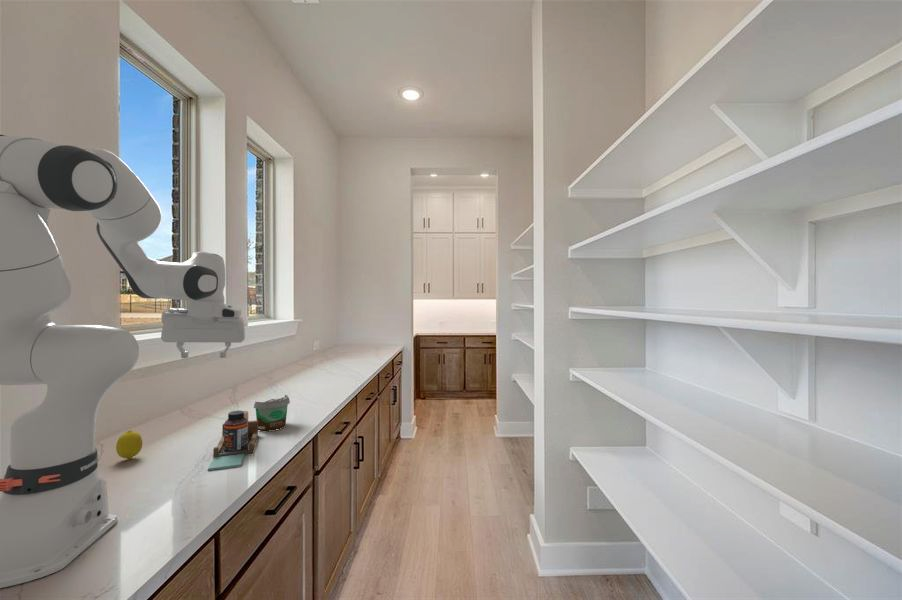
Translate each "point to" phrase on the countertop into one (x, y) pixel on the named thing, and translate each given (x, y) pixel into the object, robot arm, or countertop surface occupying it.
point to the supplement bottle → (235, 432)
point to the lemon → (129, 444)
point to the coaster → (226, 462)
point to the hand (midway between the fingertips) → (204, 357)
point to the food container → (272, 413)
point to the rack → (251, 433)
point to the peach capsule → (247, 421)
